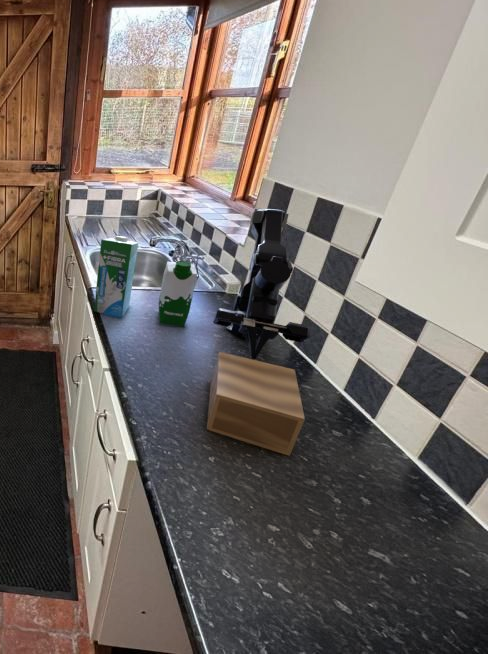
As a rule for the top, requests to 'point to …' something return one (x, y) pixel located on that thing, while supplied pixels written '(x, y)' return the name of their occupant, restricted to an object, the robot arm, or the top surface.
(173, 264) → the soya milk
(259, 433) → the cabinet
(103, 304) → the milk carton
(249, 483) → the top surface
